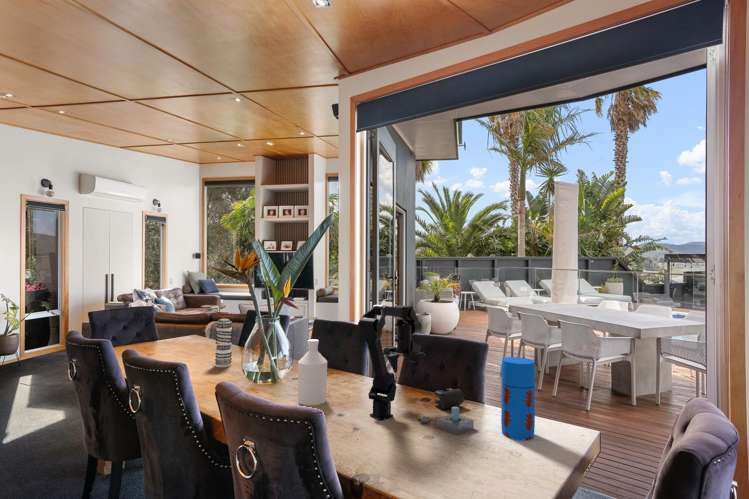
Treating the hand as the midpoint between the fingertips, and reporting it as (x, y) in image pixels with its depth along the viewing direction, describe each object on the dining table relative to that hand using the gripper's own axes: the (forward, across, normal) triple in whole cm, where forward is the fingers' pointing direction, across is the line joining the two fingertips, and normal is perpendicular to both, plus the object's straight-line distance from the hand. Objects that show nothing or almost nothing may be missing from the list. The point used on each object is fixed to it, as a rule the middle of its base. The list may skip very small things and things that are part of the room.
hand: (403, 375), depth 184 cm
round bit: (+12, -29, +4) cm, 32 cm away
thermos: (+12, -47, -7) cm, 49 cm away
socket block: (+12, -29, +4) cm, 32 cm away
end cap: (+12, -14, -12) cm, 22 cm away
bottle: (+12, +28, +25) cm, 40 cm away
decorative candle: (+12, +110, +27) cm, 114 cm away
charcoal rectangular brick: (+12, -18, +8) cm, 24 cm away
